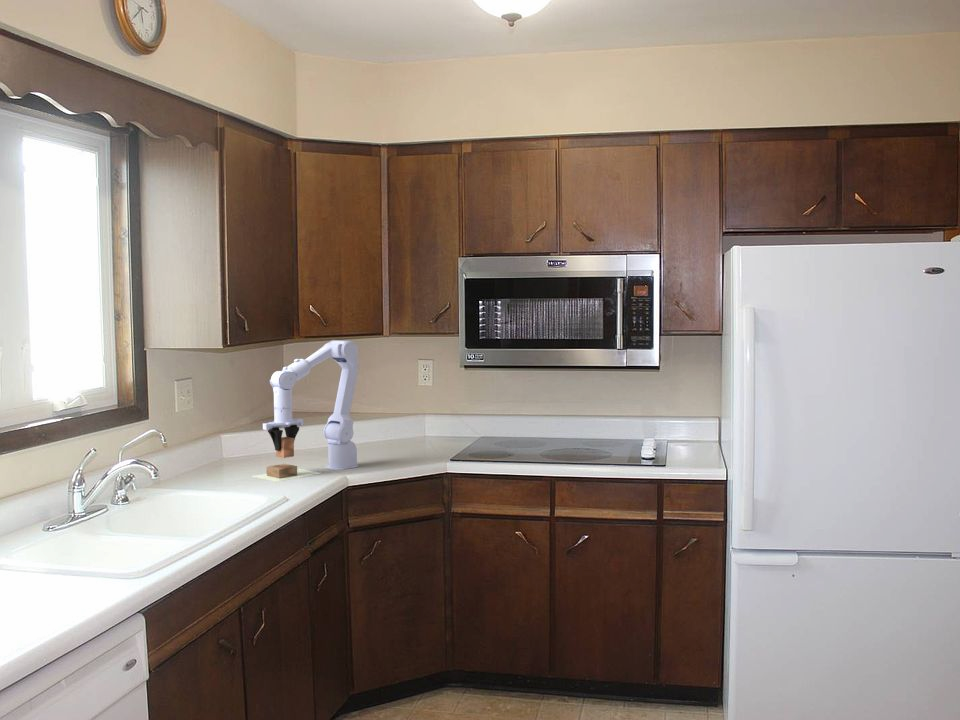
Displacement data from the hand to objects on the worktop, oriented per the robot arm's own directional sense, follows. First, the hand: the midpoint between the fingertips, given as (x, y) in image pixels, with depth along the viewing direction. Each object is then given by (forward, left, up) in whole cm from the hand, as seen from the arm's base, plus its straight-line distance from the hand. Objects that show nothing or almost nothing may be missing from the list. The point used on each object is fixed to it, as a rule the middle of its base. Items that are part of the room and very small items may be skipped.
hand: (284, 449), depth 269 cm
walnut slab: (0, -1, -9) cm, 9 cm away
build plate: (-2, -1, -9) cm, 9 cm away
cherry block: (0, +1, -2) cm, 2 cm away
